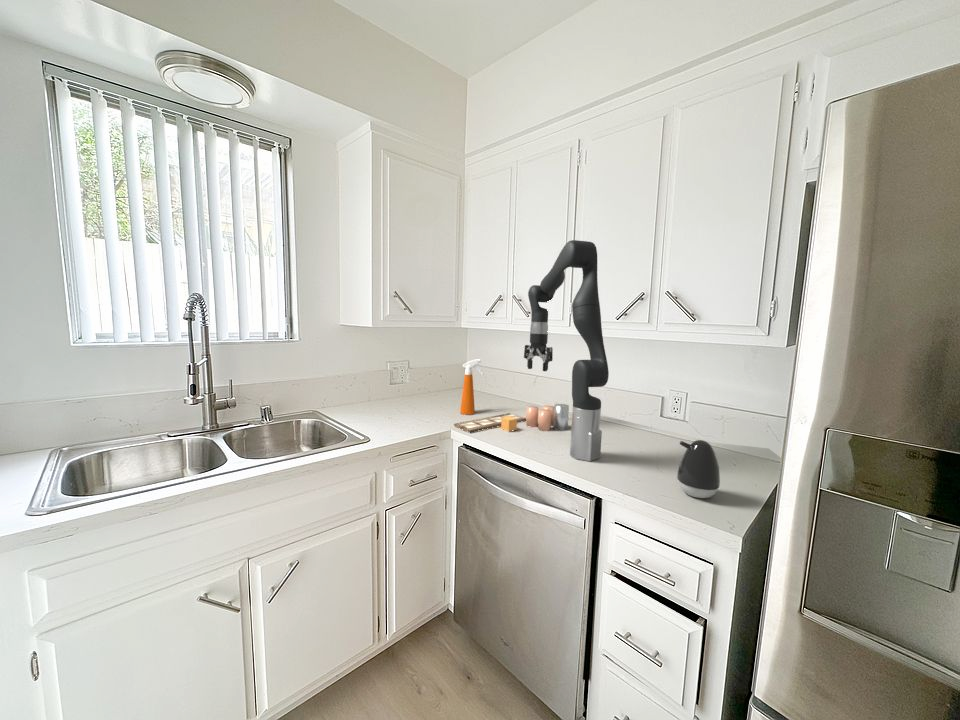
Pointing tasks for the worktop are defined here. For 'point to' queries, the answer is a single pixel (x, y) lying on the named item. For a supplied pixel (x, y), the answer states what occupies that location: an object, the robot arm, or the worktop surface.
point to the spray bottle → (469, 388)
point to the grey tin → (561, 416)
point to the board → (485, 422)
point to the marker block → (508, 423)
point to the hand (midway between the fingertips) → (537, 369)
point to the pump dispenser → (699, 470)
